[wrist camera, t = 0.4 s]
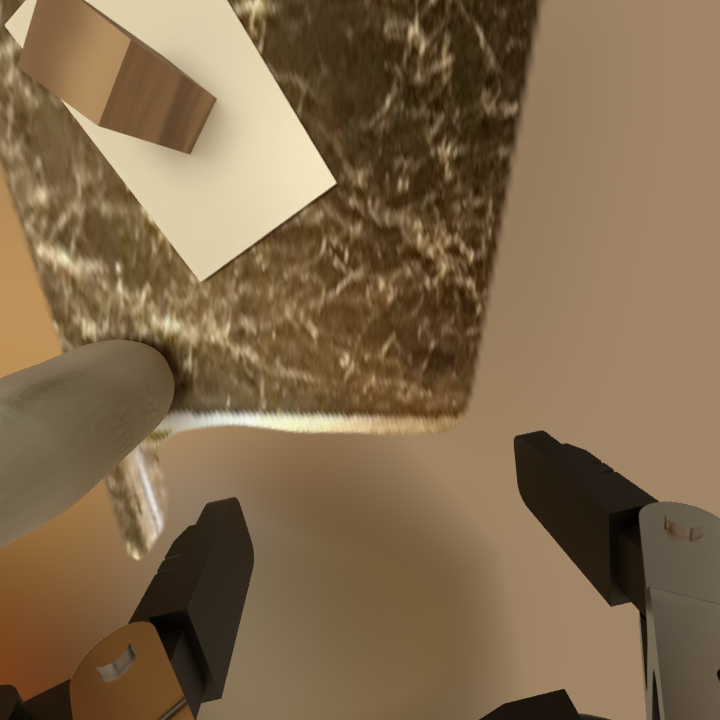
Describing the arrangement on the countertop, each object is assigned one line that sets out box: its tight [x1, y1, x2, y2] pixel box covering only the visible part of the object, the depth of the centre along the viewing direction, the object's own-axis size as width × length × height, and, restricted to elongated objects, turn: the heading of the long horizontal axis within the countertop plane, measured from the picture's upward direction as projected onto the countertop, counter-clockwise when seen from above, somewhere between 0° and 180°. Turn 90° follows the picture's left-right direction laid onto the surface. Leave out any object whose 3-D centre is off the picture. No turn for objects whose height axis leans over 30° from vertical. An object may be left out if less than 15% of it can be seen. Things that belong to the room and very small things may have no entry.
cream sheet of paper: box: [5, 0, 338, 282], centre depth 31 cm, size 24×16×1 cm, turn 33°
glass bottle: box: [0, 339, 175, 548], centre depth 28 cm, size 10×10×28 cm
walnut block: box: [17, 0, 217, 154], centre depth 26 cm, size 5×5×11 cm
